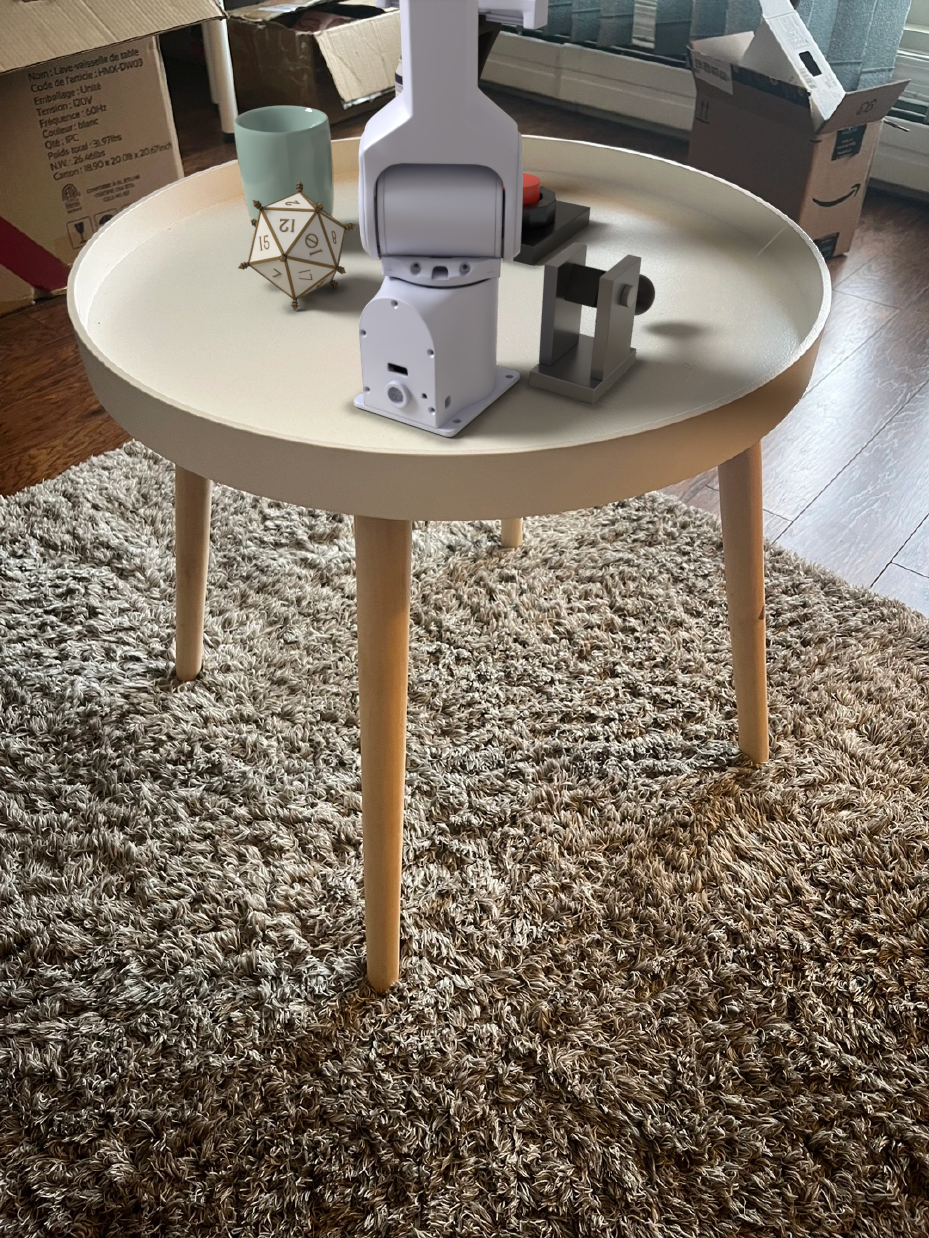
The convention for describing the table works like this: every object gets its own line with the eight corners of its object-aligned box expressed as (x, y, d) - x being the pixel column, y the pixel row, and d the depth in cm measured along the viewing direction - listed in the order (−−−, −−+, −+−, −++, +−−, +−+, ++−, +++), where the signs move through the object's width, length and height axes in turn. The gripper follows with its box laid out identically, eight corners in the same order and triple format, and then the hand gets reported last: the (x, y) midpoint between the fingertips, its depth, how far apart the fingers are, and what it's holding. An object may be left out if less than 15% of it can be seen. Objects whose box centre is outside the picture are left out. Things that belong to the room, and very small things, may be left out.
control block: (504, 207, 96) (505, 169, 94) (589, 225, 93) (592, 186, 90) (443, 245, 89) (443, 205, 87) (532, 267, 86) (534, 225, 83)
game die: (302, 327, 85) (307, 206, 84) (372, 318, 80) (379, 188, 79) (214, 304, 78) (219, 172, 77) (285, 292, 73) (291, 150, 72)
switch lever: (617, 311, 77) (628, 271, 76) (654, 320, 76) (665, 280, 75) (557, 303, 67) (568, 257, 66) (597, 314, 66) (609, 266, 65)
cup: (355, 233, 91) (346, 114, 84) (300, 262, 86) (286, 139, 79) (288, 216, 94) (275, 100, 87) (232, 243, 89) (213, 122, 82)
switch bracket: (567, 345, 75) (576, 234, 69) (641, 365, 73) (656, 252, 67) (522, 384, 70) (527, 269, 65) (599, 407, 68) (612, 289, 62)
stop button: (511, 190, 91) (512, 170, 89) (546, 198, 89) (547, 178, 88) (491, 202, 88) (491, 182, 87) (527, 210, 87) (528, 190, 86)
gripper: (572, -81, 73) (559, 119, 82) (407, -96, 79) (413, 93, 88) (525, -69, 69) (517, 141, 78) (354, -86, 74) (365, 112, 83)
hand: (458, 117), depth 83 cm, fingers closed
